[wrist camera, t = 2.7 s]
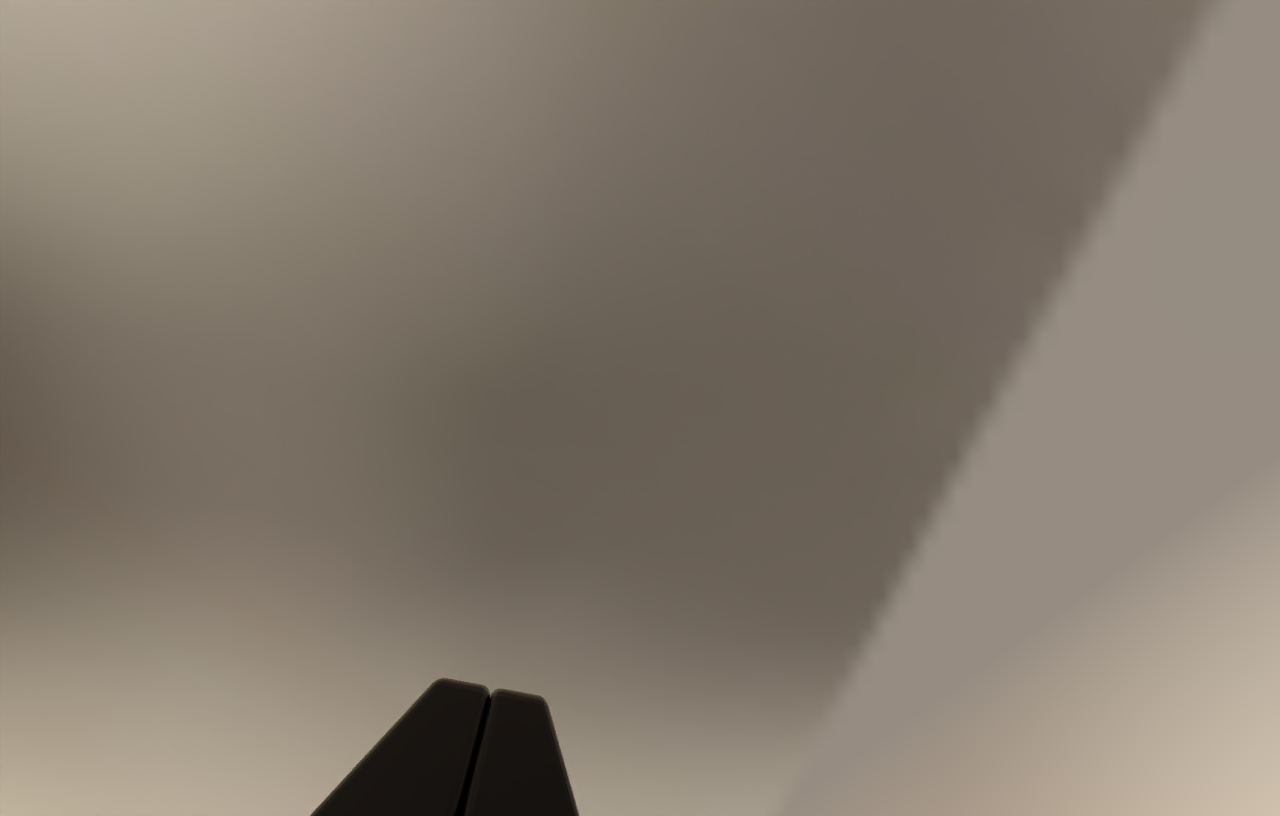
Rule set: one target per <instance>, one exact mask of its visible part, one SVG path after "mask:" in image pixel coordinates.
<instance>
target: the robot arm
mask: <svg viewBox="0 0 1280 816" xmlns="http://www.w3.org/2000/svg"><path fill="white" fill-rule="evenodd" d="M310 816H579V813H578V809H577V806H576V802H575V799H574V795H573V791H572V788H571V784H570V781H569V777H568V774H567V770H566V767H565V763H564V760H563V756H562V753H561V749H560V745H559V742H558V738H557V735H556V731H555V728H554V724H553V721H552V717H551V714H550V710H549V707H548V705H547V703H546V701H545V700H544V699H543V698H542V697H541V696H538V695H533V694H527V693H522V692H517V691H512V690H506V689H497V690H495V691H494V692H493V693H492V695H491V697H490V692H489V690H488V688H487V687H486V686H483V685H480V684H474V683H469V682H464V681H458V680H453V679H448V678H442V679H439V680H437V681H435V682H434V683H433V684H432V685H431V686H430V687H429V688H428V689H427V690H426V691H425V692H424V693H423V694H422V695H421V696H420V697H419V698H418V699H417V701H416V702H415V703H414V704H413V705H412V706H411V707H410V708H409V709H408V710H407V711H406V712H405V713H404V715H403V716H402V717H401V718H400V719H399V720H398V721H397V722H396V723H395V724H394V725H393V726H392V728H391V729H390V730H389V731H388V732H387V733H386V734H385V735H384V736H383V737H382V738H381V739H380V740H379V742H378V743H377V744H376V745H375V746H374V747H373V748H372V749H371V750H370V751H369V752H368V753H367V754H366V756H365V757H364V758H363V759H362V760H361V761H360V762H359V763H358V764H357V765H356V766H355V767H354V769H353V770H352V771H351V772H350V773H349V774H348V775H347V776H346V777H345V778H344V779H343V780H342V781H341V783H340V784H339V785H338V786H337V787H336V788H335V789H334V790H333V791H332V792H331V793H330V794H329V796H328V797H327V798H326V799H325V800H324V801H323V802H322V803H321V804H320V805H319V806H318V807H317V808H316V810H315V811H314V812H313V813H312V814H311V815H310Z"/></svg>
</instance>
